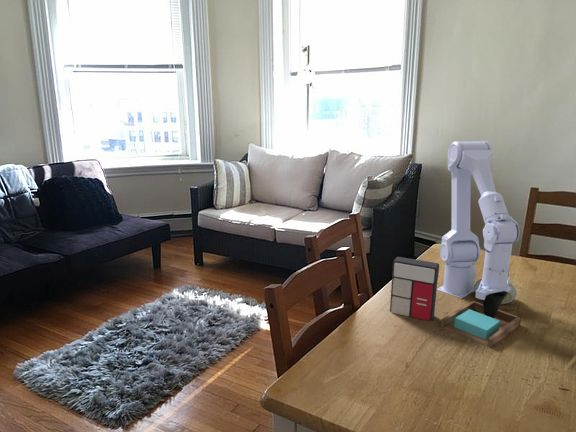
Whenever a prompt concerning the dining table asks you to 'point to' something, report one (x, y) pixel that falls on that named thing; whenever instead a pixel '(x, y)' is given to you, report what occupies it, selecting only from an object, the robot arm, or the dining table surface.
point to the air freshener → (510, 294)
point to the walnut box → (506, 319)
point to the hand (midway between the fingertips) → (489, 316)
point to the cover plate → (477, 324)
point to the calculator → (414, 288)
